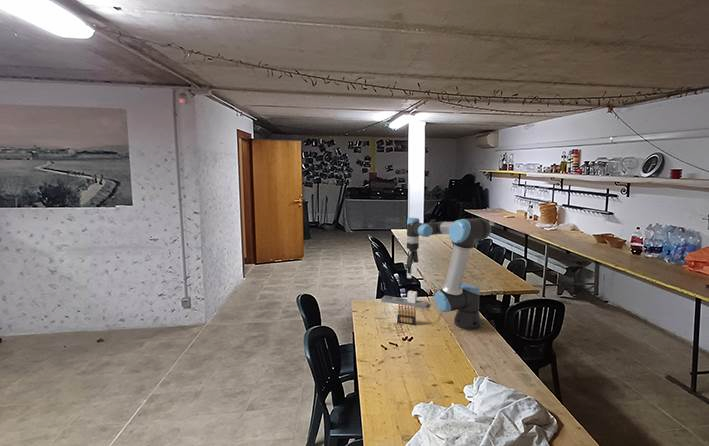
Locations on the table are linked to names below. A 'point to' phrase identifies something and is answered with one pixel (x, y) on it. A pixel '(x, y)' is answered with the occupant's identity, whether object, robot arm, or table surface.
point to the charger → (412, 297)
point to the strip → (404, 301)
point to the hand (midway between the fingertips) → (412, 275)
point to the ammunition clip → (406, 315)
